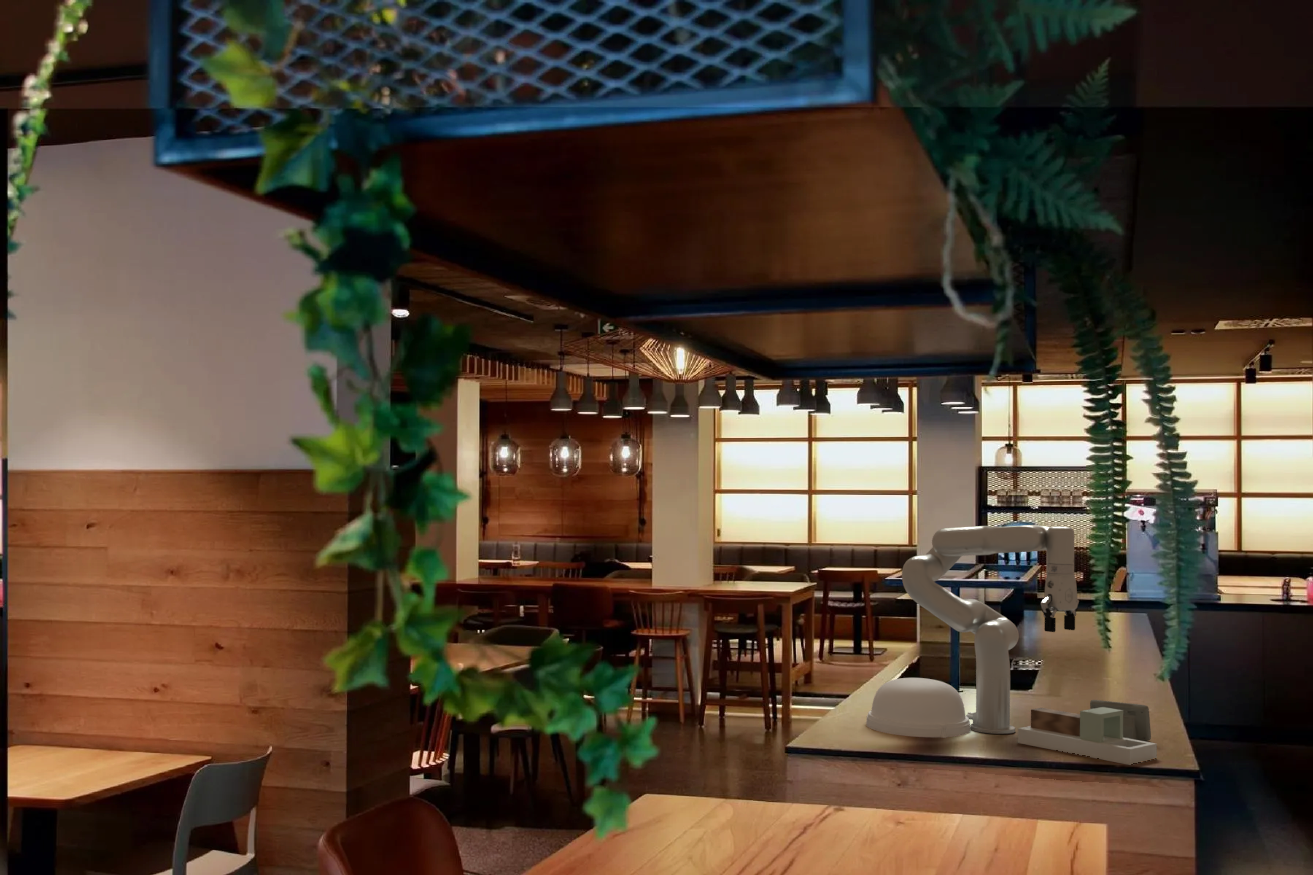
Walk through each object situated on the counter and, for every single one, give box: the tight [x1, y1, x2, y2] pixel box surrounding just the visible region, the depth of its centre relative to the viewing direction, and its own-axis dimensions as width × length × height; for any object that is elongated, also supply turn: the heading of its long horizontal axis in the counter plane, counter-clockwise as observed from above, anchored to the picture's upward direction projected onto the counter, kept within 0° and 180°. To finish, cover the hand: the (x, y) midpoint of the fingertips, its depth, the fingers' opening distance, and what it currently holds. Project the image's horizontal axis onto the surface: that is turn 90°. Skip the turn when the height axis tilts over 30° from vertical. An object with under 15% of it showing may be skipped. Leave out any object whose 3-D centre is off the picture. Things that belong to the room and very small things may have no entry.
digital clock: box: [1089, 699, 1152, 742], centre depth 351 cm, size 16×9×11 cm, turn 45°
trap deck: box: [1017, 725, 1158, 766], centre depth 334 cm, size 34×13×4 cm, turn 39°
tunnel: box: [1079, 707, 1123, 743], centre depth 331 cm, size 6×11×7 cm, turn 129°
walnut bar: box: [1030, 707, 1080, 736], centre depth 340 cm, size 15×5×5 cm, turn 39°
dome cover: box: [865, 677, 971, 739], centre depth 364 cm, size 32×30×14 cm
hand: (1059, 630), depth 352 cm, fingers open, 9 cm apart
